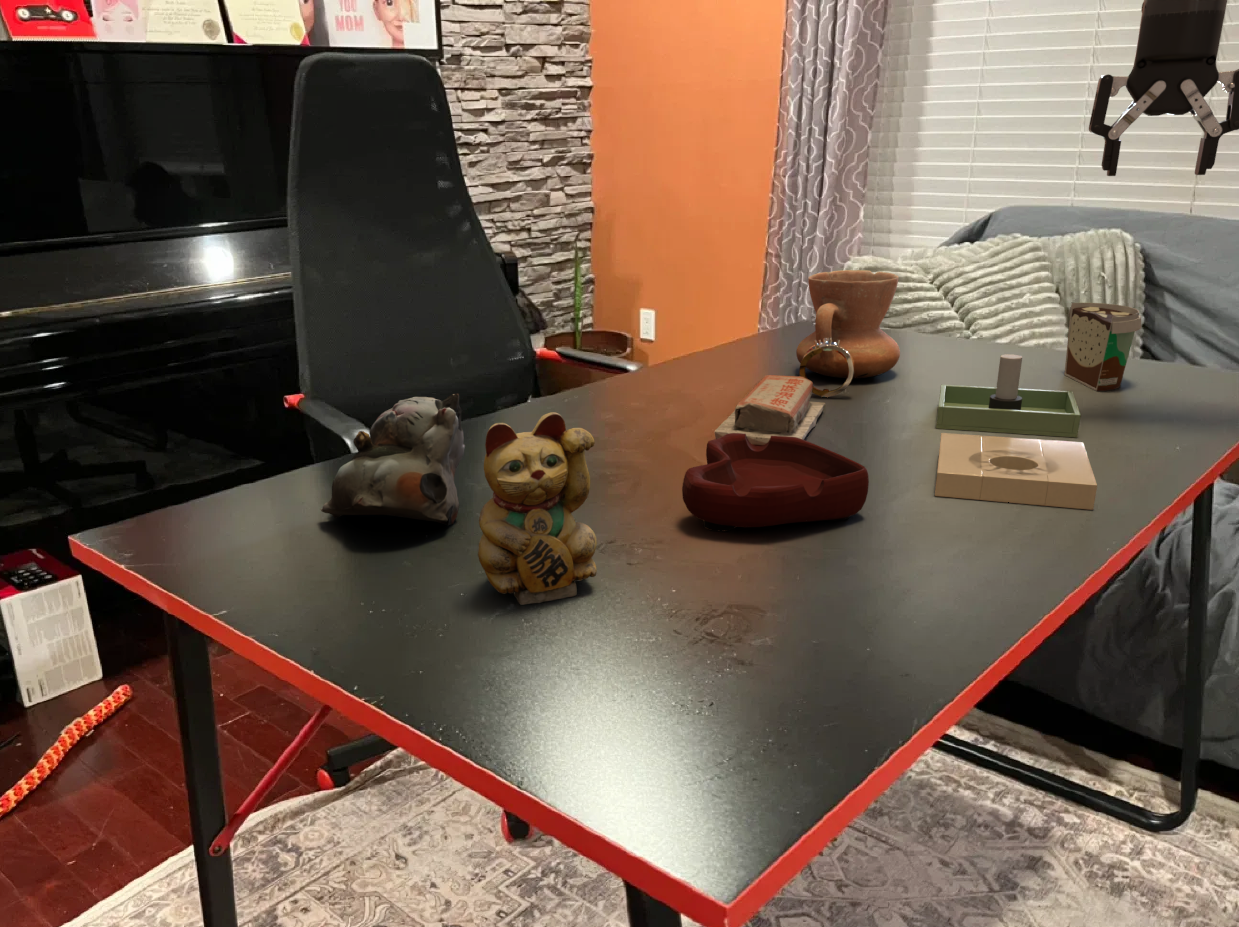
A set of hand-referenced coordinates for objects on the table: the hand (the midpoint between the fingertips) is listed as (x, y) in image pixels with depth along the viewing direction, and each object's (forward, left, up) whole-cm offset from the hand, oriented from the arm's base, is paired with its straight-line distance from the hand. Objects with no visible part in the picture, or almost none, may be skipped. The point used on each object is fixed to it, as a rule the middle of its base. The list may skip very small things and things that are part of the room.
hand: (1155, 175), depth 111 cm
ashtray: (+33, +40, -28) cm, 59 cm away
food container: (-1, -21, -28) cm, 35 cm away
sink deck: (+12, +25, -28) cm, 39 cm away
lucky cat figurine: (+68, +52, -28) cm, 90 cm away
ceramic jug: (+33, -18, -28) cm, 47 cm away
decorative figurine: (+49, +63, -28) cm, 85 cm away
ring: (+34, -4, -28) cm, 44 cm away
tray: (+12, +2, -28) cm, 31 cm away
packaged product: (+38, +12, -28) cm, 49 cm away
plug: (+12, +2, -28) cm, 30 cm away
